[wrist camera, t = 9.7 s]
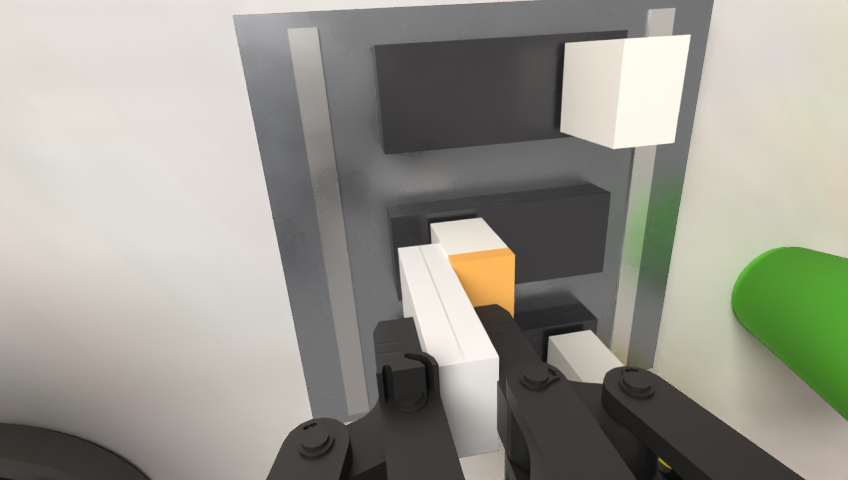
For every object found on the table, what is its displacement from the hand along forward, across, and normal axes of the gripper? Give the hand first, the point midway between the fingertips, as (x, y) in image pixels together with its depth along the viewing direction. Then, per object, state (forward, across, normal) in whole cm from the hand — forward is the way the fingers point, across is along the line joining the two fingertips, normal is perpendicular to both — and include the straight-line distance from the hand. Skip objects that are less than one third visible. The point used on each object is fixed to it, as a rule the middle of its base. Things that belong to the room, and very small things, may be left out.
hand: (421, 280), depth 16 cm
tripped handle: (+2, +2, 0) cm, 2 cm away
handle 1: (+2, +7, -6) cm, 9 cm away
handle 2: (+2, +7, +6) cm, 9 cm away
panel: (+5, +4, 0) cm, 6 cm away
